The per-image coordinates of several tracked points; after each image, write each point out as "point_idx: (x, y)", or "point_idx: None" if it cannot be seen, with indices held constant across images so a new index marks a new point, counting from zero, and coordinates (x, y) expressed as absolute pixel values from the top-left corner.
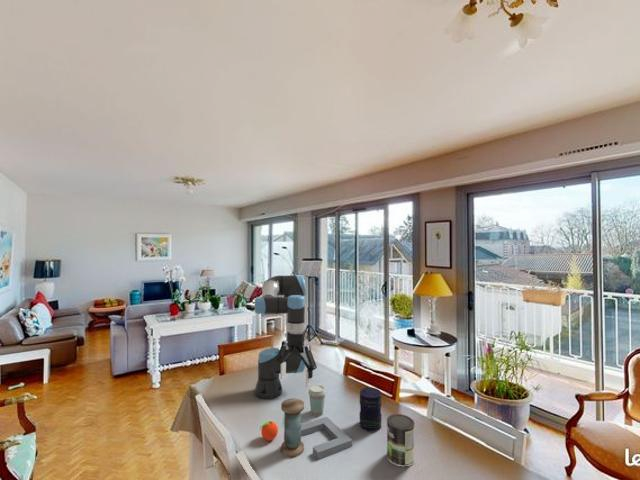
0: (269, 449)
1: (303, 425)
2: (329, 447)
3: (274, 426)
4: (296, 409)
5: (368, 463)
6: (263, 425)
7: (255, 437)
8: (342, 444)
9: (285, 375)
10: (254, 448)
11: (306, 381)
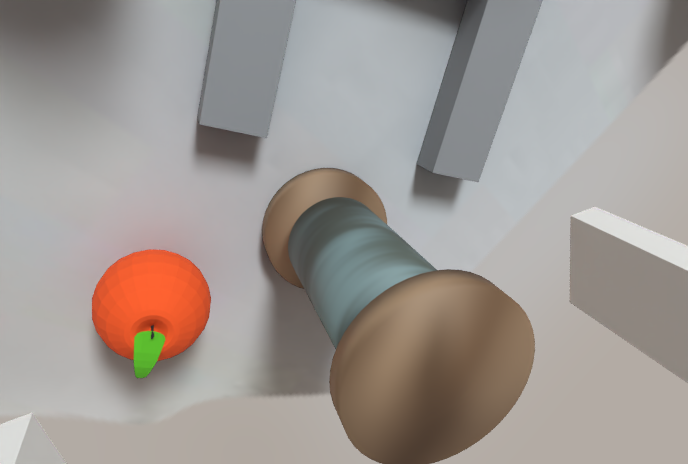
0: (240, 316)
1: (230, 69)
2: (498, 106)
3: (194, 308)
4: (520, 390)
5: (643, 9)
6: (146, 370)
7: (83, 336)
8: (530, 21)
9: (27, 449)
10: (181, 371)
11: (640, 340)
